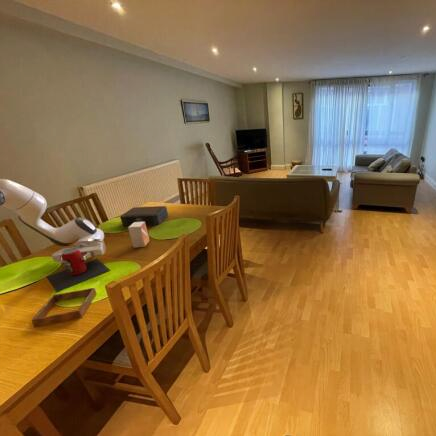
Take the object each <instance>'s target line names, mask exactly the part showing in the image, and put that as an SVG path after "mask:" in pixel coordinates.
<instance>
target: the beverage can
mask: <svg viewBox="0 0 436 436" xmlns="http://www.w3.org/2000/svg"><path fill="white" fill-rule="evenodd" d="M70 248H71V247H70ZM81 257H82V254H81V252H80V251H79V250H78V249H77V248H71V249H67V250H65V251H63V252H62V259H63V261H64V263H63V264H64V266H65V268H66V269H67V270H68V273H69V274H70V275H79V274H82V273H83V272H85V271H86V270H87V267H86V264H85V262H86V261H85V260H83V261H82V260H81Z"/></svg>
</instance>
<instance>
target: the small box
mask: <svg viewBox="0 0 436 436" xmlns="http://www.w3.org/2000/svg"><path fill="white" fill-rule="evenodd" d="M127 227H128V228H127V229H128V232H129V236H130V239H131V242H132V246H133V248H144V247H146V246H147V244H148V243H150V237H149V233H148V228H147V225H146V224H145V222H134V223H133V224H131V225H130V226H127Z"/></svg>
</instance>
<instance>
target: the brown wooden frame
mask: <svg viewBox="0 0 436 436" xmlns="http://www.w3.org/2000/svg"><path fill="white" fill-rule="evenodd" d="M97 294H98V293H97V290H96V288H95V287H91V288H84V289H79V290H72V291H67V292H63V293H56V294H53V295H52V296H51V297H50V298H49V299H48V300H47V301H46V303H45V304H44V305H43V306H42V307H41V308H40V309H39V310H38V312H37V313H36V314H35V316H33V318H31V323H32V325H33V326H34V328H37V327H41V326H42V327H43V326H47V325H52V324H56V323H61V322H66V321H70V320H71V321H72V320H76V319H81V318H83V317H84V315H85V314H86V312H87V310H88V309H89V307H90V305H91V304H92V303H93V301H94V299H95V298H96V296H97ZM84 297H86V298H85V299H84V300H83V302H82V304H81V305H80V306H79V308H78V309H76V310H72V311H67V312H61V313H57V314H52V315H48V314H49V312H50V311H51V310H52V309H53V308H54V306H55V305H56V304H57V303H58V302H64V301H67V300H68V301H69V300H73V299H78V298H79V299H80V298H84Z"/></svg>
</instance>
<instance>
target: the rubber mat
mask: <svg viewBox="0 0 436 436" xmlns="http://www.w3.org/2000/svg"><path fill="white" fill-rule="evenodd" d="M84 262H85V264H86V267H87V270H86V271H85V272H83V273H82V274H79V275H70V274H69V273H68V270H67V268H66V269H64V270H60V271H58V272H55V273H52V274H50V275H47V276H46V278H47V280H48V282H50V284H51V286H52V287H53V289H54V290H55V291H56V293H59V292H61V291H63V290H66V289H68V288H71V287H73V286H75V285H78V284H80V283H84V282H86V281H88V280H90V279H93V278H95V277H97V276H99V275H102V274H105V273H107V272H110V271H111V269H110V268H109V267H108V266H107V265H105V264H104V262H102V261H101V260H99V258H94V259H91V260H88V261H84ZM108 270H109V271H108ZM106 271H107V272H106Z"/></svg>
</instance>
